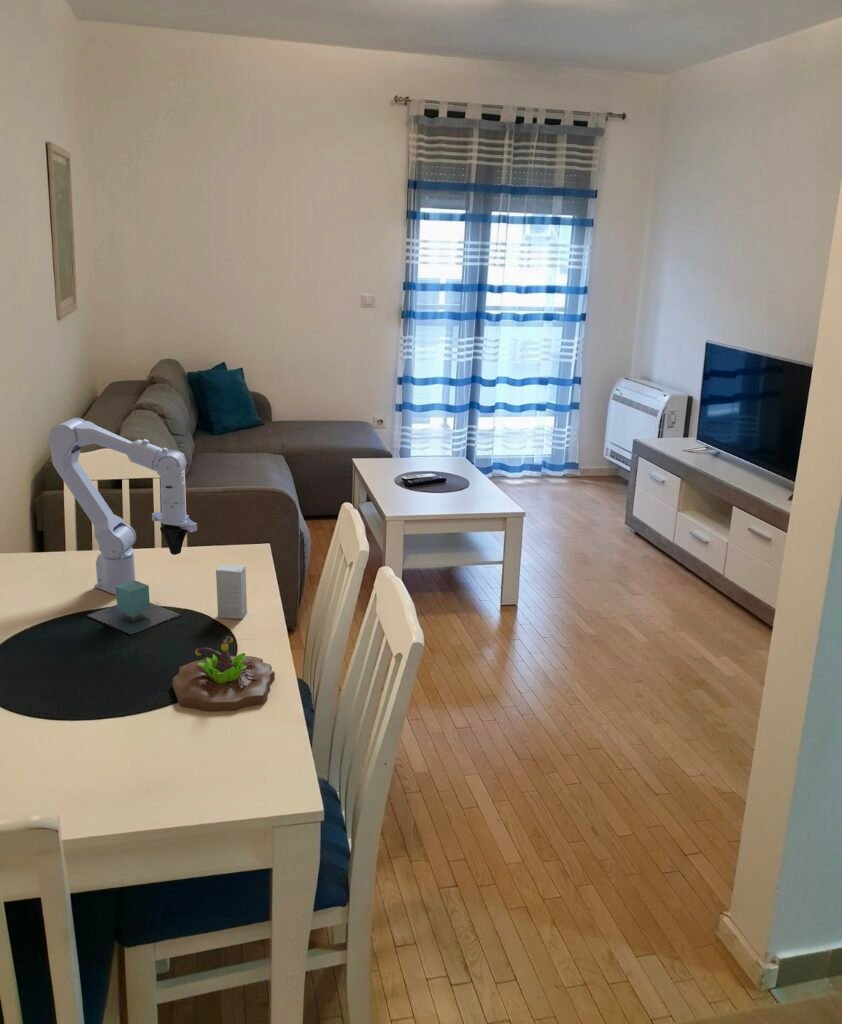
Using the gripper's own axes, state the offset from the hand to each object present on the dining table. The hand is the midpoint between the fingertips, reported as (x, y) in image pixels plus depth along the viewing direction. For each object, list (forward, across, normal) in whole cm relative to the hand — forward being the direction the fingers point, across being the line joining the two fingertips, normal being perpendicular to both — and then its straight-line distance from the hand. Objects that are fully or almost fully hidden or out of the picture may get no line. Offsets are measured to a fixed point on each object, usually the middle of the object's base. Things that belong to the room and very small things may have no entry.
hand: (175, 553), depth 223 cm
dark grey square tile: (+10, -5, +17) cm, 20 cm away
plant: (+10, -47, +28) cm, 56 cm away
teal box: (+8, -5, +17) cm, 20 cm away
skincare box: (+10, -22, +2) cm, 24 cm away
